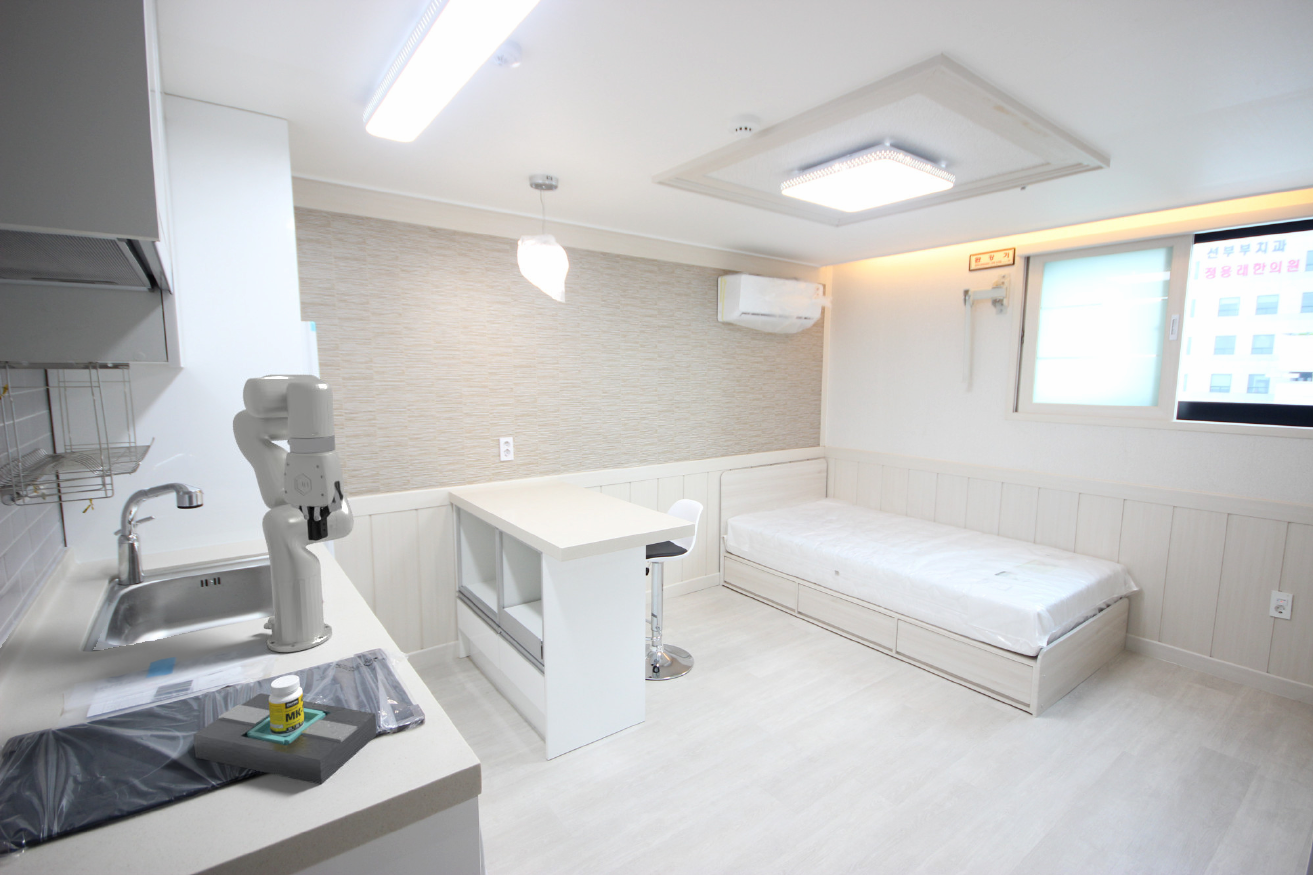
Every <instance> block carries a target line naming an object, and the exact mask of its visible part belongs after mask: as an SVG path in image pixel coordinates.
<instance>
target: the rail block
mask: <svg viewBox="0 0 1313 875" xmlns="http://www.w3.org/2000/svg"><path fill="white" fill-rule="evenodd" d="M270 695H271V694H265V693H259V694H257V695H255V696H254V697H252V698H250V699H249V700H247V701H245V702H243V703H242V704H237V705H235V706H234V707H231V708H230V709H229V710H227V711H225V712H223V713H222V714H221V715H219V716H218V718H217V719H216V720H215V721H212V722H211V723H210V724H208V725H207V726H205V727H203V728H202V729H200V730H198V731H196V732H195V733H193V745H194V754H195V758H196V759H201V760H206V761H211V762H215V763H219V764H225V765H230V766H233V767H239V768H244V769H247V770H248V769H249V770H253V771H258V772H263V773H268V774H272V775H276V776H280V777H286V778H291V779H294V780H295V779H296V780H300V781H304V782H305V781H306V782H309V783H315V784H320V785H322V784H324V783H325V782H326V781H327V780H328V779H329V778H330V777H331V776H333V775H334V774H335V773H336V772H337V771H339V769H341V768H342V767H343V766H344V765H345V764H346V763H347V762H349V761H350V760H351V759H352V758H353V757H355V755H357V753H359V752H360V751H361V750H362V749H363V748H364V747H366V745H367V744H369V743H370V742H371V741H372V740H373V739H374V738H375V737H377V719H376V713H373V712H369V711H363V710H357V709H351V708H346V707H340V706H334V705H328V704H323V703H318V702H317V703H316V702H310V701H306V700H303V707H304V708H307V709H313V710H318V711H323V713H325V717H324V718H323V719H322V720H319V719H318V720H317V721H316V722H314V723H313V724H312V725H310V726H309V727H308V728H306V729H305V730H304V731H302V732H301V734H302V735H300V736H299V737H298V738H296V739H295V740H294V741H292V742H291V743H290V744H288V745H282V744H277V743H272V742H267V741H262V740H257V739H252V738H248V735H247V732H248V731H250V730H251V729H253V728H254V727H256V726H257V725H259V724H260V723H262V722H263V721H265V720H266V719H268V718H269V717H270V713H269V696H270Z"/></svg>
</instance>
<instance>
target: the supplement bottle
mask: <svg viewBox="0 0 1313 875" xmlns="http://www.w3.org/2000/svg"><path fill="white" fill-rule="evenodd" d="M300 683H301V682H300V677H299V676H298V675H295V674H288V675H283V676H281V677H278V678H276V679H274V680H272V682H271V683H270V694H269V695H270V696H269V713H270V730H271V734H272V735H274V736H279V737H284V736H288V735H291V734H293V733H295V732H296V731H297V730H299V729H300V728H301V727H303V725H304V707H303V701H304V694H303V688H302V687H301V686H300V685H301V684H300Z"/></svg>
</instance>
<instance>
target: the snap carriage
mask: <svg viewBox="0 0 1313 875" xmlns="http://www.w3.org/2000/svg"><path fill="white" fill-rule="evenodd" d="M324 717H325V713H323V711H318V710H313V709H307V708H304V725H303V727H301V728H300V729H299V730H297V731H296V732H295V733H293V734H291V735H288V736H284V737H279V736H274V735H272V734H271V730H270V717H269V718H268V719H266V720H265V721H263V722H262V723H260V724H259V725H257V726H256V727H254V728H253V729H251V730H250V731H248V732H247V735H248V738H252V739H257V740H262V741H267V742H272V743H277V744H282V745H288V744H290V743H291V742H292V741H294V740H295V739H296V738H298V737H299V736H300V735H302V734H301V732H302V731H304V730H305V729H306V728H308V727H309V726H310V725H312V724H313V723H314V722H316V721H317V720H318V719H319V720H322V719H323V718H324Z"/></svg>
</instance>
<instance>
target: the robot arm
mask: <svg viewBox="0 0 1313 875" xmlns="http://www.w3.org/2000/svg"><path fill="white" fill-rule="evenodd" d="M242 399H243V400H242V401H243V405H244V408H245V409H242V410H240V411H239V412H237V413H236V414H235V415H234V417H233V420H232V430H233V432H232V433H233V436H234V439H235V440H234V441H235V443H236V445H237V447H238V449H239V451H240V452H241V454H242V456H243V457H244V458H245V459H246V460H247V462H248V463H249V464H250V465H251V468H252V469H253V471H254V474H255V477H256V481H257V485H258V489H259V492H260V496H261V499H262V500H263V502H264V505H265V506H266V507H267V508H268V509H269V510H268V511H267V512H265V514H264V515H263V517H262V523H261V526H262V532H263V535H264V540H265V543H266V548H267V552H268V558H269V566H270V578H271V579H270V580H271V592H272V593H271V594H272V607H273V608H272V609H273V616H272V615H271V616H270V617H269V618H268V620H267V622H265V623H264V624H263V629H265V630H271V635H270V636H269V637H268V639H267V643H266V644H267V647H268V649H269V650H270V651H272V652H277V653H278V652H279V653H294V652H300V651H305V650H308V649H312V648H315V647H317V646H319V645H321V644H323V643H325V642H326V641H328V640H329V639H330V638H331V637H332V634H333V628H332V626H331V625H329V624H327V623H325V622H324V619H325V618H324V607H323V606H324V604H323V602H324V601H323V587H322V585H323V584H322V572H321V571H322V569H321V562H320V560H319V559H320V558H319V557H318V556H317V555H316V554H315V553H313V551H311V550H310V549H308V548H307V546H310V545H314V544H318V543H324V542H329V541H335V540H339V539H344V538H346V537H347V536H349V535H350V534H351V533H352V532H353V529H354V522H355V520H354V515H353V511H352V508H351V505H350V503H349V500H348V498H347V495H346V491H345V487H344V486H345V485H344V474H343V469H342V465H341V460H340V457H339V453H338V452H336V451H337V450H336V435H335V417H334V414H335V413H334V401H333V400H334V395H333V388H332V385H331V384H330V383H329V382H327V381H325V380H324V379H321V378H319V377H317V376H315V375H312V374H268V375H267V374H266V375H263V376H261V377H252V378H248V379H247V380H246V381H245V383H244V387H243V390H242ZM279 441H280V442H281V441H286V443H287V445H289V451H288V450H286V449H285V448H284V447H282V446H280V445H278V444H276V443H274V442H279Z"/></svg>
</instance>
